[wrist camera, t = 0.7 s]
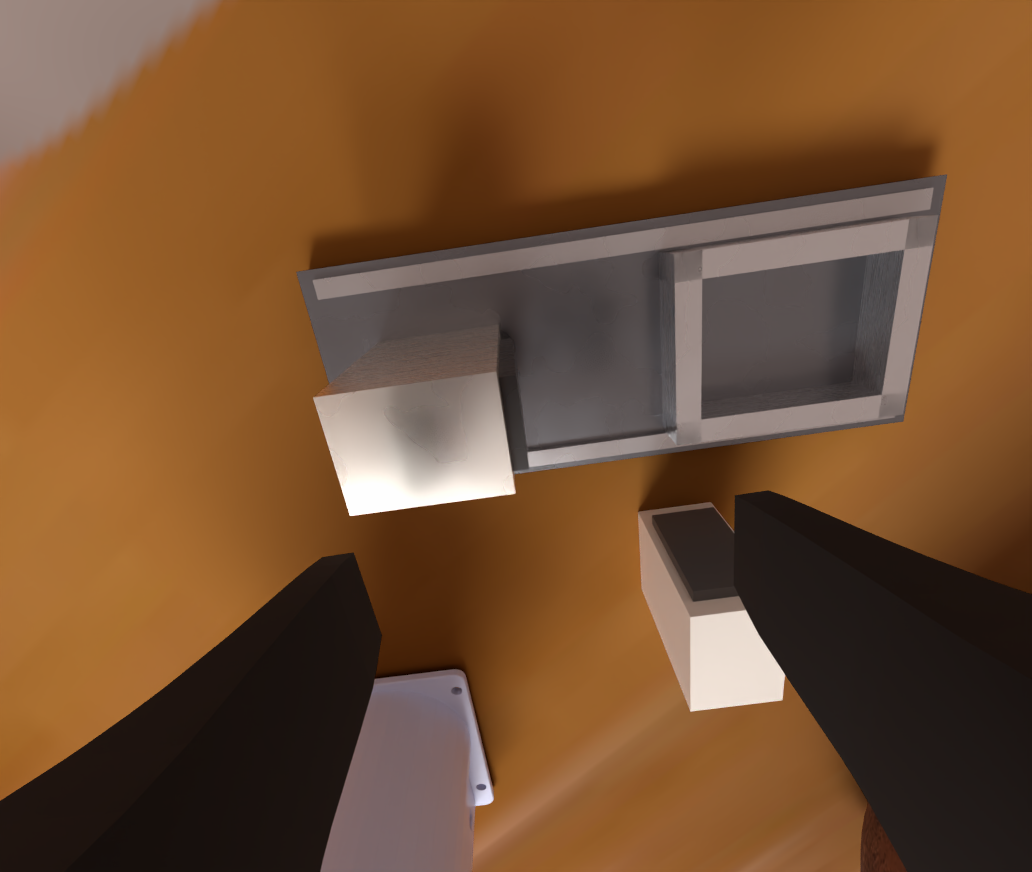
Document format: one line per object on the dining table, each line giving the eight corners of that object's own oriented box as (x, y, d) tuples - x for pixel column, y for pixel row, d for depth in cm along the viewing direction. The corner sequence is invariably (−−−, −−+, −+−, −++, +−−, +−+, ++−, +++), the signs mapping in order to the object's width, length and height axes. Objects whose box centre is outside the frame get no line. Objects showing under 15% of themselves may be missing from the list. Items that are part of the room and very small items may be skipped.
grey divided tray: (883, 412, 19) (1087, 506, 12) (368, 482, 19) (300, 608, 13) (920, 178, 15) (1221, 135, 9) (308, 269, 16) (176, 292, 10)
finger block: (641, 589, 21) (690, 711, 16) (637, 503, 20) (690, 606, 14) (709, 580, 21) (782, 700, 16) (710, 493, 20) (792, 593, 14)
